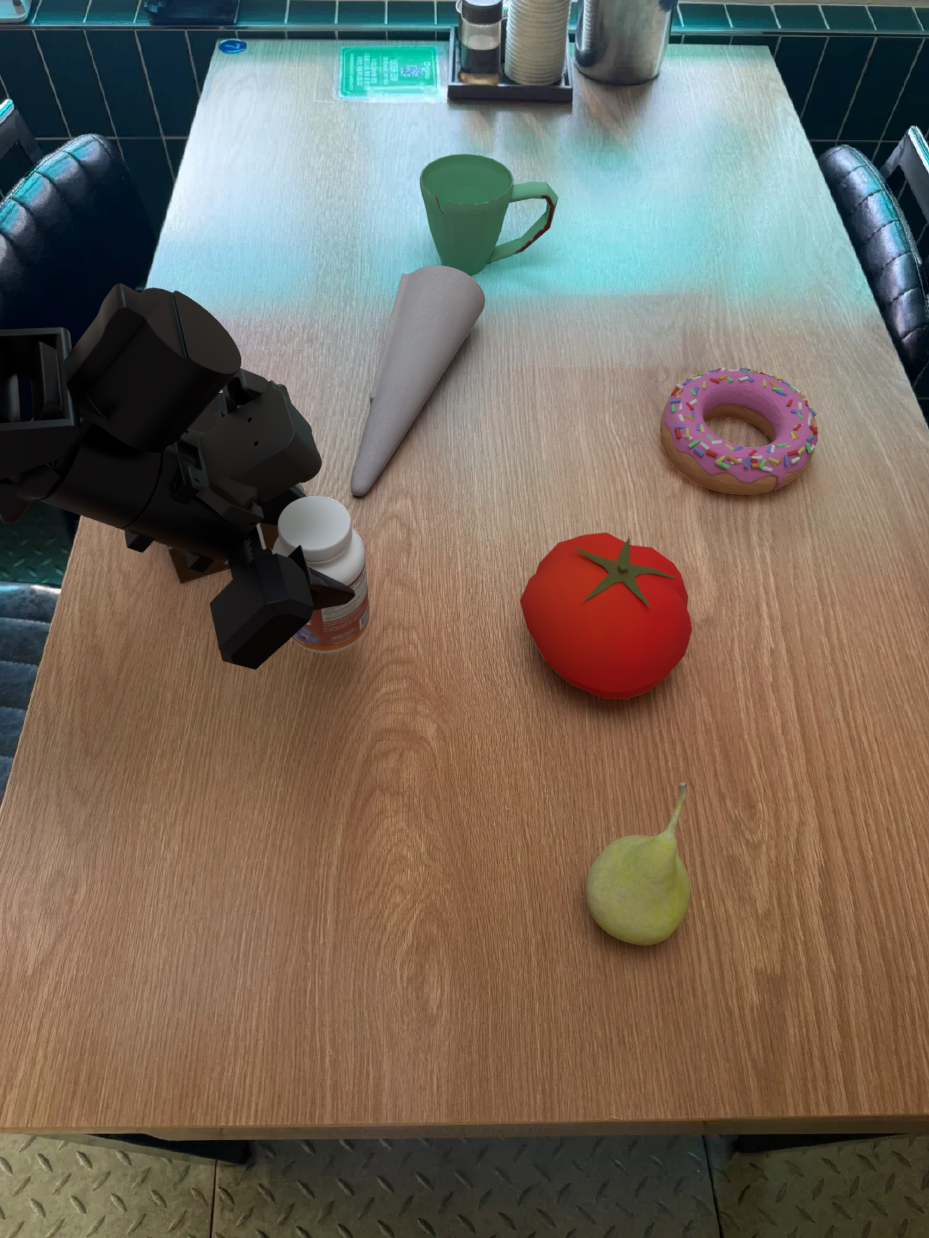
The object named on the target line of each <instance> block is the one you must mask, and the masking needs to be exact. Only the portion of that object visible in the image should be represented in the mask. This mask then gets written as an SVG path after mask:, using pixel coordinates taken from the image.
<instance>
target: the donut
mask: <svg viewBox="0 0 929 1238" xmlns="http://www.w3.org/2000/svg"><path fill="white" fill-rule="evenodd" d="M817 415H818V413H817V412H816V410H815V409H814V408H813V407H810V405H809V401H808V400H807V399H806V395H804V394H802V391H800V390H799V389H798V388H796V387H795V386H792V384H790V383H788V382H787V381H785V380H784V378H783V377H781V376H775V375H773V374H771V373H768V372H766V371H760V372H758V369H756V368H754V369H751V368H746V367H740V368H739V369H727V367H724V366H723V367H720V368H716V369H711V370H707V372H704V373H703V372H700V371H698V372H697V373H696V374H695V373H694V374H692V375H690V376H687V378H686V380H685V381H683V383H681V384H679V383H677V384H675V386H674V388H673V390H672V391H671V393H670V396H669V398H668V400H667V402H666V404H665V406H664V408H663V411H662V413H661V419H660V424H659V425H660V427H659V435H660V441H661V445H662V448H663V452H664V453H665V455H666V457H667V458H668V461H669V462H670V463H671V465H673V467H674V468H675V469H676V470H677V471H678V472H679V473H680V474H681V475H683V476H684V477H685V478H687V479H688V480H690V481H691V482H694V483H695V484H697V485H699V486H701V487H703V488H706V489H708V490H711V491H714V492H718V493H722V494H729V495H736V496H752V495H762V494H766V493H770V492H775V491H776V490H778V489H781V488H783V487H784V486H786V485H788V484H790V483H791V482H793V481H794V480H795V479H796V478H798V477H799V476H800V475H801V474H802V473H803V472H804V471H805V469H806V468H807V467H808V465H809V464H810V463H811V461H812V459H813V456H814V453H815V450H816V446H817V443H818V442H819V439H818V437H819V431H818V425H817V420H816V418H815V417H816V416H817ZM715 418H730V419H736V420H740V421H743V422H746V423H749V424H750V425H753V426H754V427H756V428H757V429H759V430H760V431H761V432H763V433H764V434H765V435H766V436H767V438H768V439H769V440H770V443H769V444H765V445H762V446H743V445H739V444H735V443H732V442H729V441H727V440H725V439H723V438H721V436H720V437H719V436H718V435H717V434H715V433H714V432H713V431H712V430H711V429H710V428H709V426H708V425H707V424H706V422H705V421H707V420H710V419H715Z"/></svg>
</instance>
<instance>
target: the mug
mask: <svg viewBox="0 0 929 1238" xmlns="http://www.w3.org/2000/svg"><path fill="white" fill-rule="evenodd" d="M514 180H515V179H514V177H513V173H512V171H511V170H510V169H509V168H508V167H507V166H506V165H505V164H503V163H502V162H500V161H498V160H497V159H494V158H492V157H489V156H485V155H481V154H476V153H475V154H473V153H455V154H448V155H445V156H441V157H438V158H436V159H434V160H432V161H430V162H429V163H427V165H425V166H424V167H423V169H422V170H421V172H420V176H419V188H420V189H419V190H420V193H421V198H422V201H423V204H424V209H425V213H426V218H427V223H428V227H429V232H430V234H431V237H432V240H433V243H434V246H435V247H434V248H435V250H436V252H437V254H438V257H439V258H440V261H441V263H442V266H448V267H452V268H455V269H458V270H460V271H462V272H464V273H466V274H468V275H469V276H471V277H473V276H476V275H478V274H479V273H482V272H483V271H484V270H485V268H486V266H487V265H489V264H493V263H496V262H498V261H501V260H504V259H507V258H509V257H512V256H515V255H518V254H521V253H523V252H524V251H526V250H527V249H528V248H529V247H530V246H531V245H533V243H535V242H536V241H537V240H538V239H540V238H541V237H542V236H543V235H544V234H545V233H546V232H548V231H549V230H550V229H551V226H552V223H553V220H554V216H555V213H556V209H557V205H558V201H559V196H558V194H557V193H556V192H555V190H554V189H553V188H552V187H551V186H550V185H549V183H548V182H547V181H529V182H523V183H516V184H514V182H515V181H514ZM531 199H535V200H545V202H546V207H545V211H544V212H543V213H542V215H540V217H539V218H538V219H537V220H536V221H535V222H534V223H533V224H532V226H530V227H529V228H528V229H527V230H526V232H524V234H522V236H521V237H518V238H516V239H513V240H510V241H507V242H504V243H502V244H499V245H497V243H498V240H499V238H500V236H501V233H502V229H503V225H504V221H505V218H506V214H507V211H508V208H509V205H510V204H512V203H517V202H521V201H525V200H531Z"/></svg>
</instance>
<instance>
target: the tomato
mask: <svg viewBox="0 0 929 1238" xmlns="http://www.w3.org/2000/svg"><path fill="white" fill-rule="evenodd" d="M519 603H520V607H521V610H522V614H523V618H524V622H525V626H526V629H527V631H528V633H529V635H530V637H531V638H532V640H533V642H534V643H535V646H536V647H537V649H538V650H539V653H540V654H541V656H542V658H543V659H544V661H545V663H546V664H547V665H548V666H549V667H550V668H551V669H552V670H553V671H554V672H555V673H557V675H559V676H560V677H561V678H562V679H563V680H564V681H565V682H566V683H568V684H569V685H572V686H574V687H575V688H579V689H580V690H583V691H585V692H588V693H589V694H592V695H594V696H596V697H599V698H600V699H604V700H605V699H606V700H607V699H608V700H609V699H611V700H628V699H631V698H634V697H638V696H640V695H643V694H646V693H648V692H650V691H651V690H653V689H654V688H655V687H656V686H657V685H658V684H659V685H660V683H662V682H663V681H665V679H666V678H667V677H668V676H669V674H670V673H671V672H672V671H673V670H674V669H675V668H676V666H677V665H679V663H680V662H681V661H682V659H683V658H684V657H685V655H686V653H687V650H688V646H689V643H690V641H691V635H692V632H693V626H692V620H691V616H690V613H689V610H688V604H689V595H688V592H687V589H686V585H685V582H684V579H683V576H682V574H681V572H680V570H679V569H678V567H677V565H676V564H675V563H674V562H673V561H671V560H670V559H668V558H667V557H666V556H664V555H663V554H662V553H660V552H659V551H657V550H656V549H655V548H654V547H652V546H645V545H644V546H643V545H634V544H631V541H630V537H628V538H627V539H626V541H624V540H622V539H620V538H618V537H616V536H614V535H613V534H611V533H608V532H606V531H605V532H597V533H588V534H587V533H586V534H583V535H578V536H575V537H573V538H569V539H566V540H563V541H559V542H557V544H555V546H554V547H553V548H552V549H551V550H549V552H548V553H547V554H546V555H545V556H544V557H543V558H542V559H541V560H540V561H539V563H538V564H537V567H536V570H535V573H534V574H533V575H532V576H531V577H530V578H529V579H528V582H527V583H526V586H525V588H524V590H523V592H522V594H521V597H520V599H519Z"/></svg>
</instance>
